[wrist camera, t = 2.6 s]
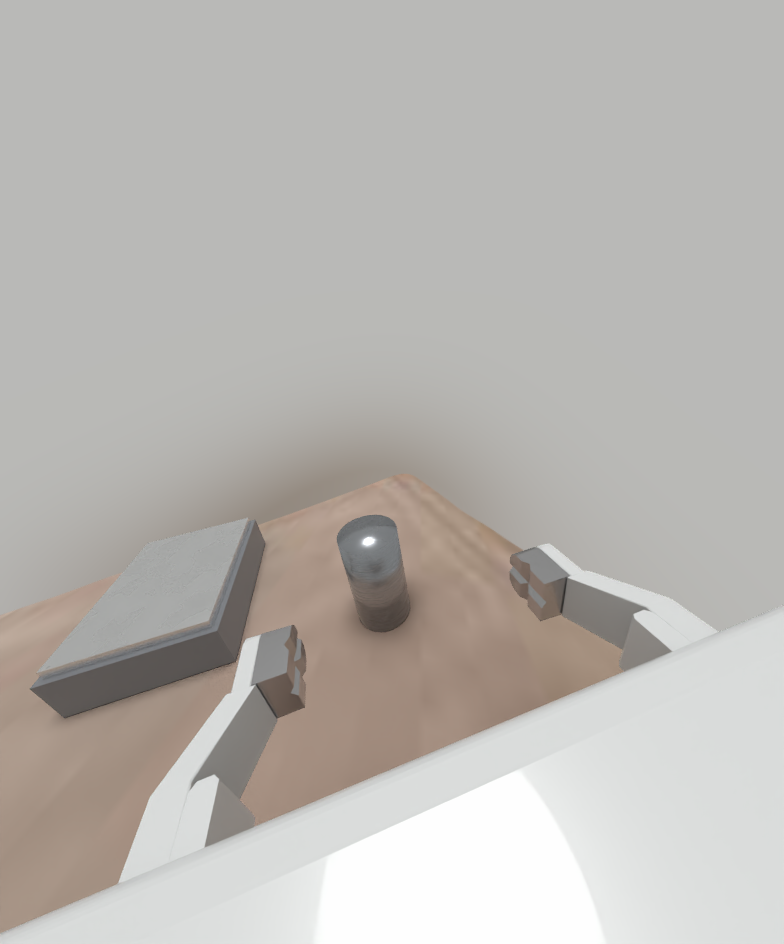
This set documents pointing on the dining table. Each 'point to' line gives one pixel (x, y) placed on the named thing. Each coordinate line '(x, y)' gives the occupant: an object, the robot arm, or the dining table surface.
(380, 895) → the robot arm
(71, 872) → the dining table surface
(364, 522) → the cylinder
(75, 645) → the kitchen scale
